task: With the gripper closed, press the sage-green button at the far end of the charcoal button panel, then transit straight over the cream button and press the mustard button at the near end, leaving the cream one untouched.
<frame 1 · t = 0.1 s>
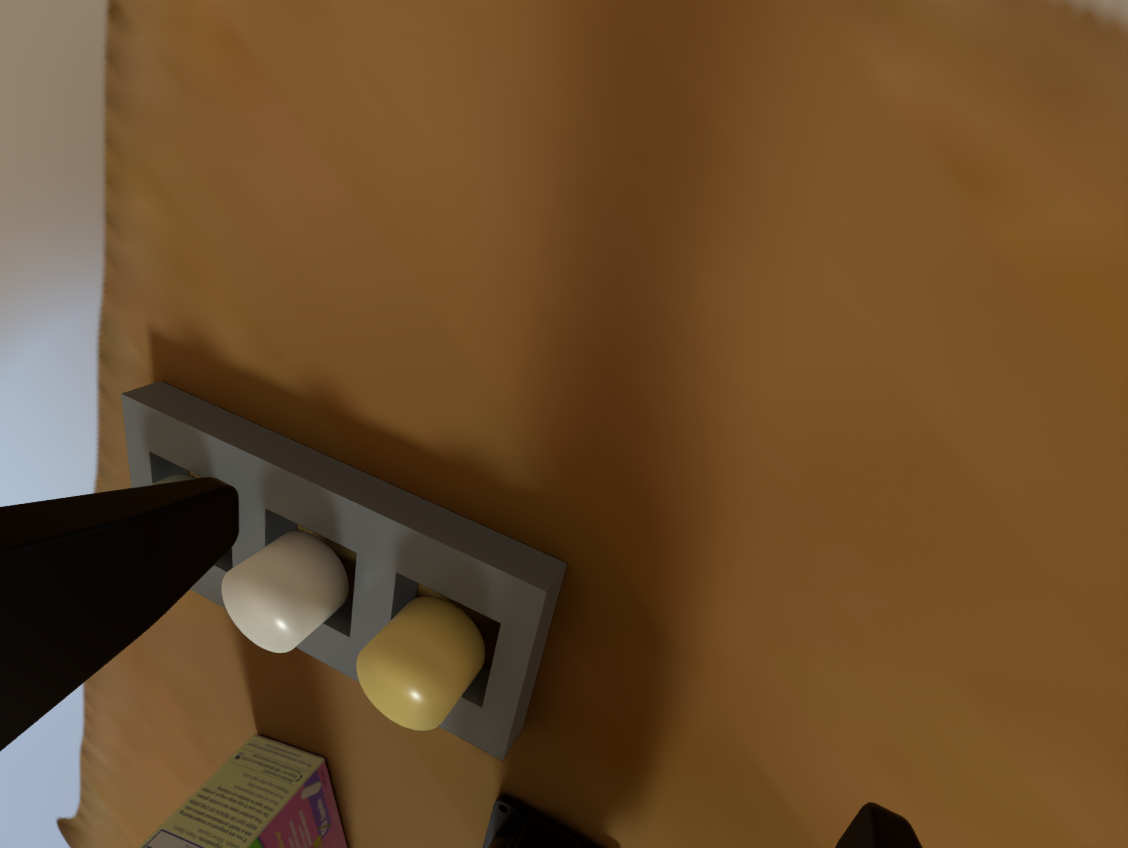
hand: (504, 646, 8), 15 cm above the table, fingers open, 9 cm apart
box: (311, 802, 41), on the table
mustard button: (422, 661, 27), point 3 cm above the table, slide at 0.0 cm
sage button: (167, 527, 30), point 3 cm above the table, slide at 0.0 cm
button panel: (338, 551, 31), on the table
cream button: (286, 590, 29), point 3 cm above the table, slide at 0.0 cm
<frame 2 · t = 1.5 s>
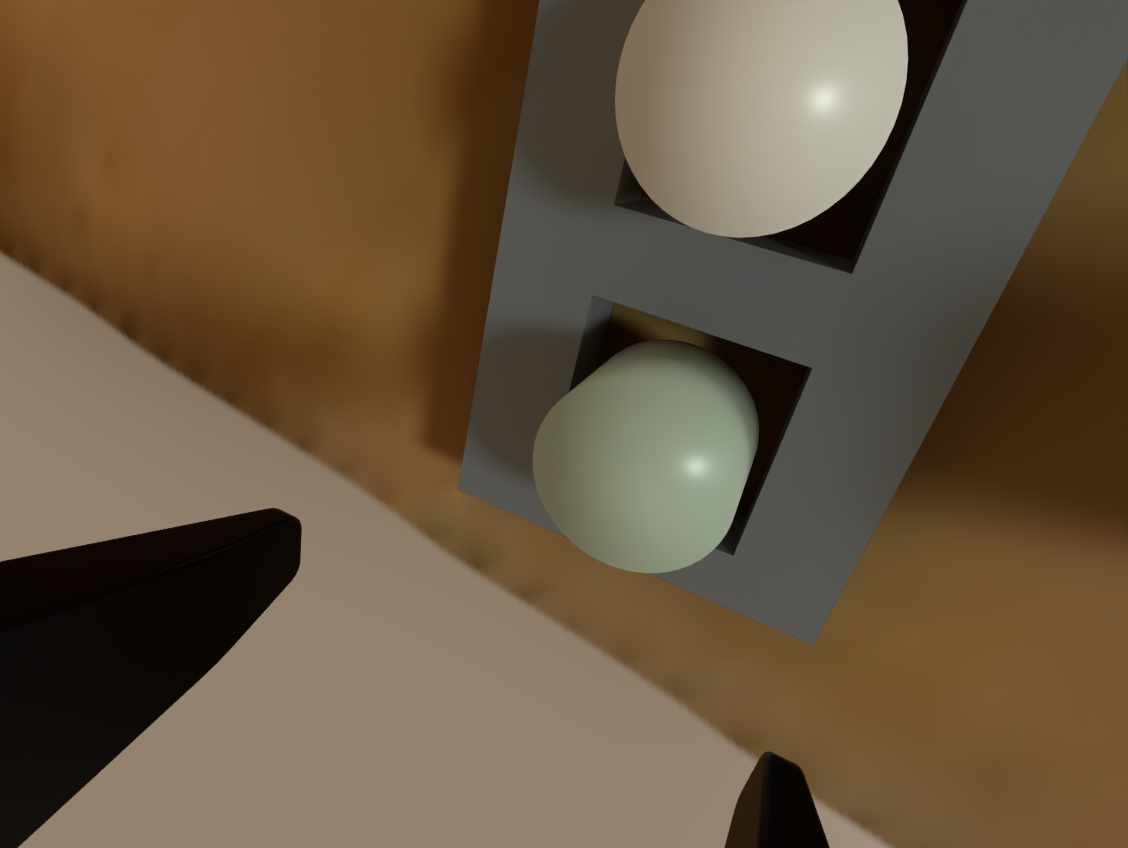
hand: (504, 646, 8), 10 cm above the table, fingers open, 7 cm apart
sage button: (649, 451, 14), point 3 cm above the table, slide at 0.0 cm
button panel: (781, 109, 14), on the table
cream button: (761, 98, 11), point 3 cm above the table, slide at 0.0 cm
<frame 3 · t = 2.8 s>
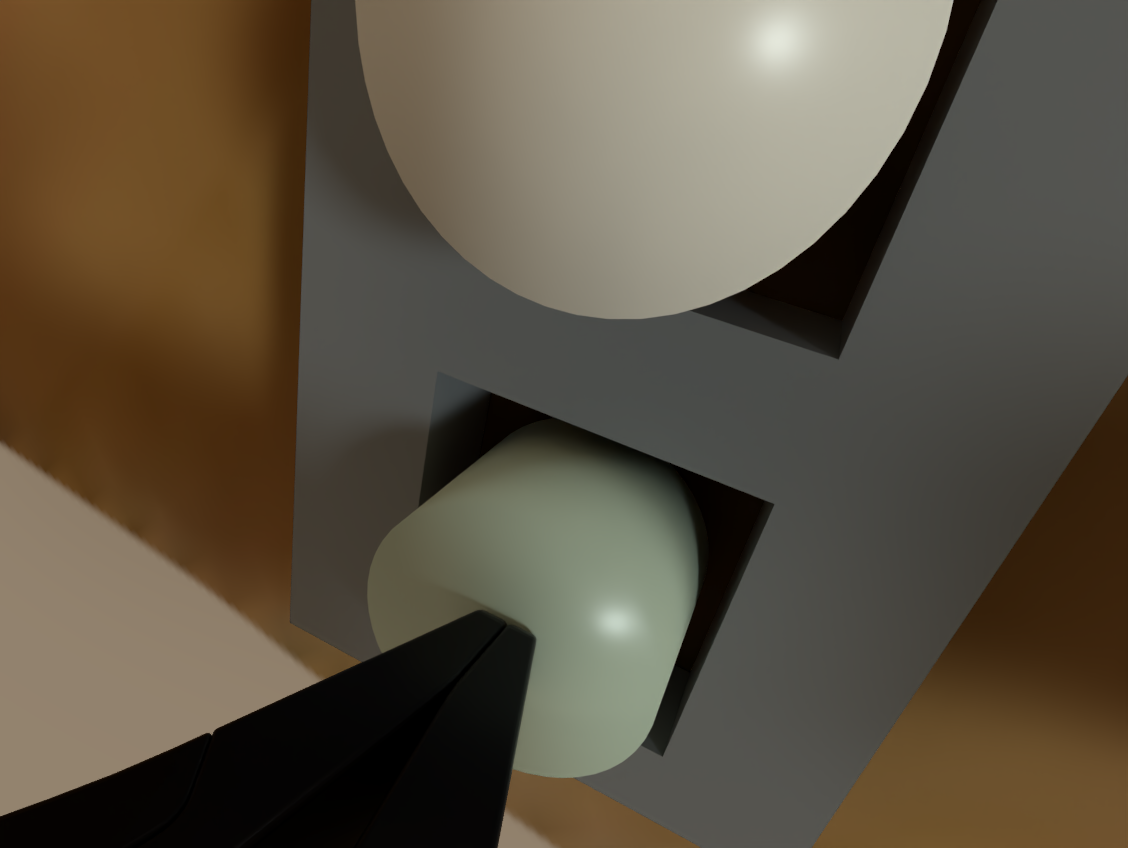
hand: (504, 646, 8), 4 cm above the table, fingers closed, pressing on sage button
sage button: (547, 584, 10), point 2 cm above the table, slide at 1.0 cm, touching gripper
button panel: (727, 81, 9), on the table
cream button: (663, 45, 6), point 3 cm above the table, slide at 0.0 cm
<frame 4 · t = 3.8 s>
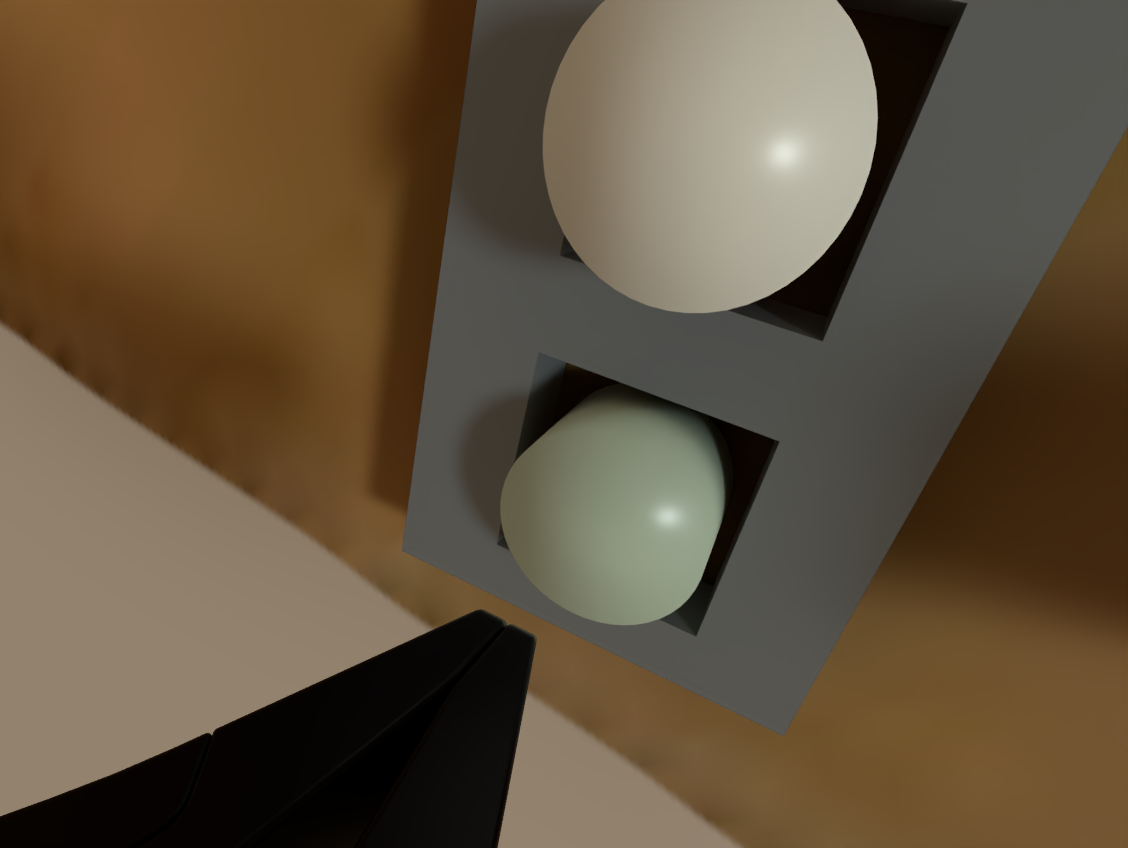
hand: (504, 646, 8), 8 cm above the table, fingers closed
sage button: (621, 498, 14), point 2 cm above the table, slide at 1.4 cm
button panel: (747, 150, 12), on the table
cream button: (715, 149, 10), point 3 cm above the table, slide at 0.0 cm
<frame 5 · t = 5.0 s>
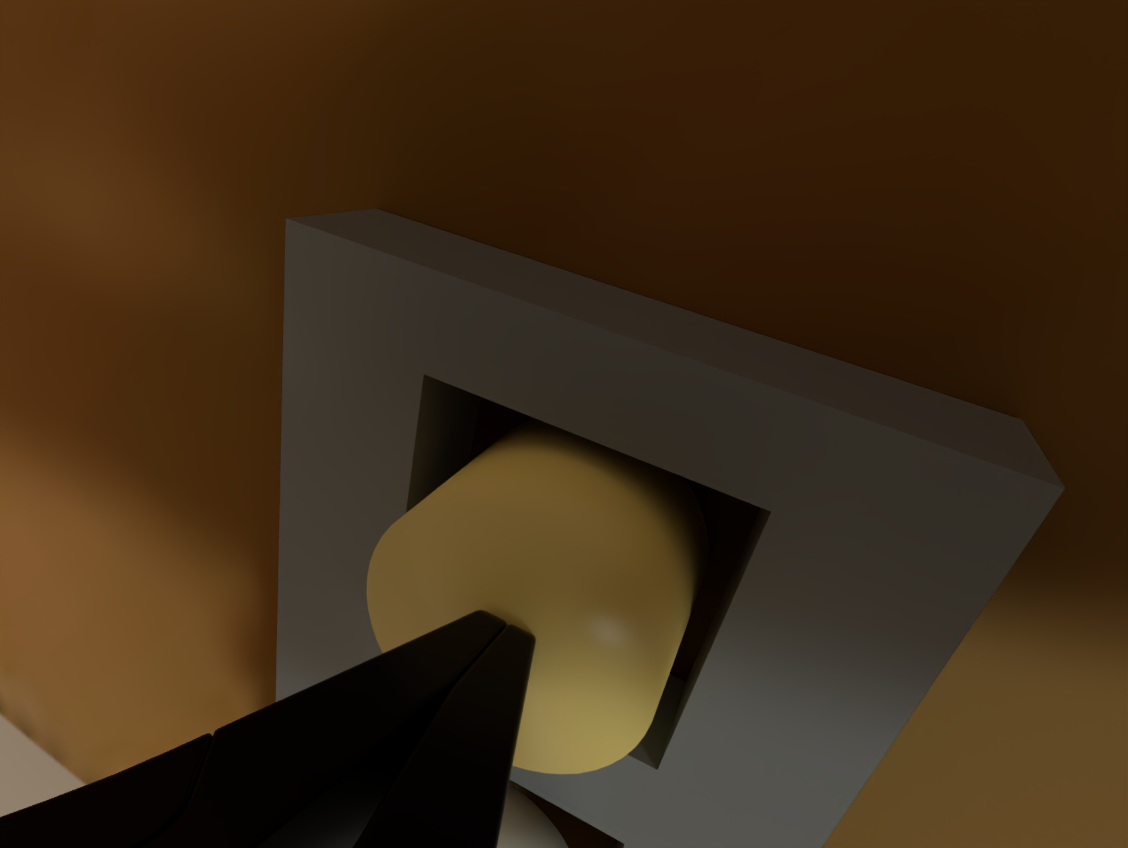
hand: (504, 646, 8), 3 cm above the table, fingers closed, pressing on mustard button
mustard button: (547, 580, 10), point 2 cm above the table, slide at 1.3 cm, touching gripper
button panel: (519, 770, 15), on the table
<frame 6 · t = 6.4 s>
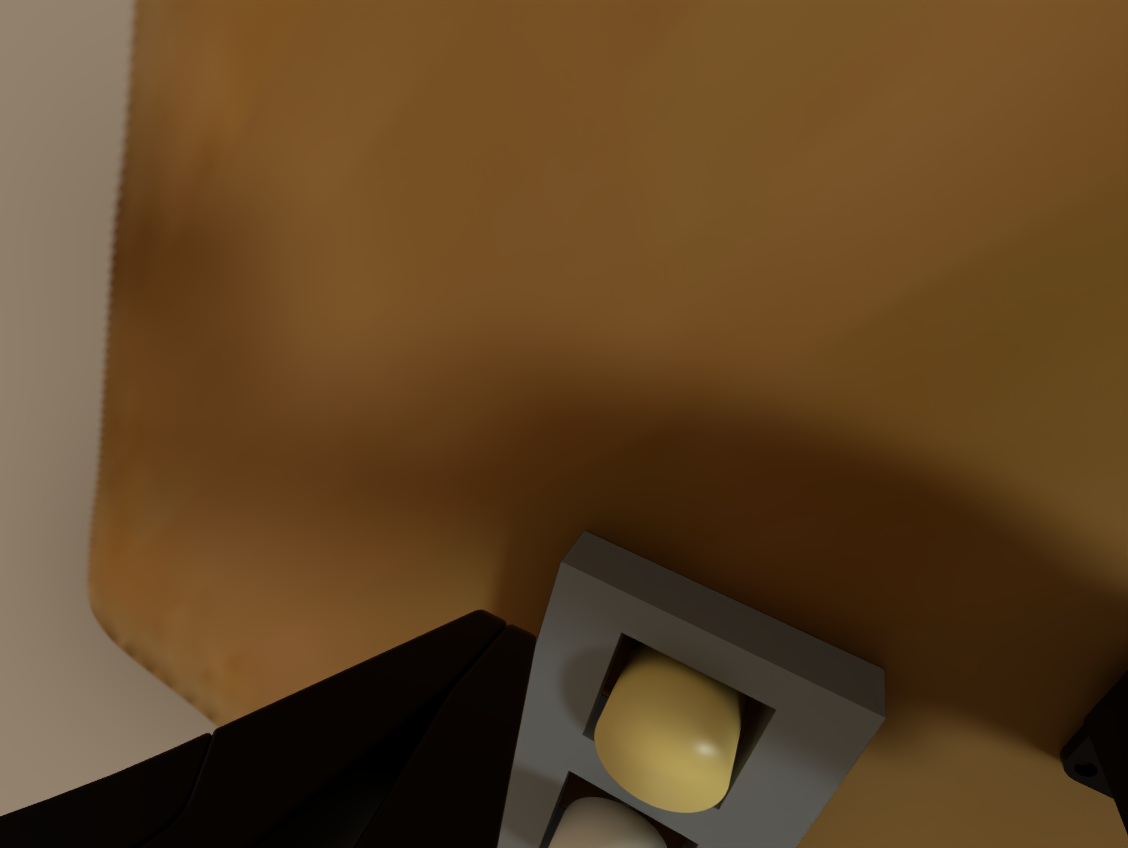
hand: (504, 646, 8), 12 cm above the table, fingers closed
mustard button: (671, 721, 21), point 2 cm above the table, slide at 1.4 cm
button panel: (629, 801, 26), on the table
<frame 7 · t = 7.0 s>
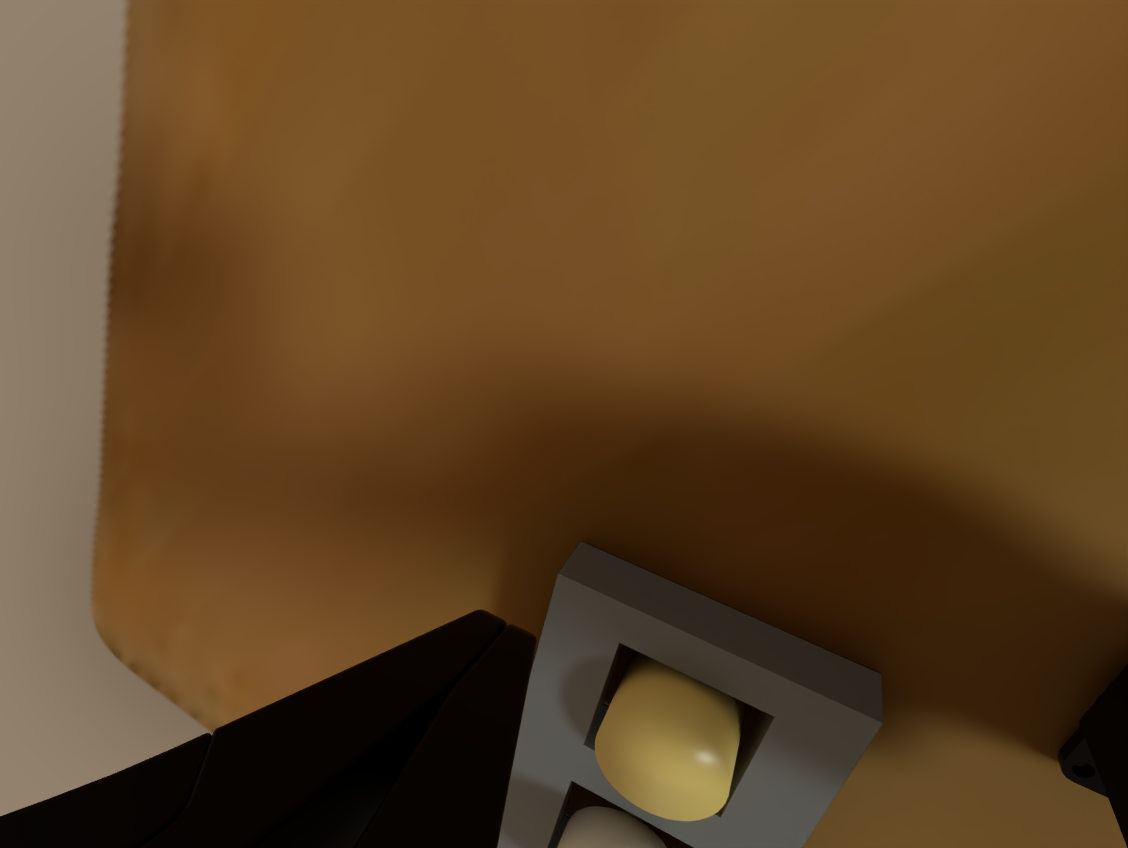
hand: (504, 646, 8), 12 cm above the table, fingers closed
mustard button: (671, 730, 21), point 2 cm above the table, slide at 1.4 cm
button panel: (632, 809, 26), on the table
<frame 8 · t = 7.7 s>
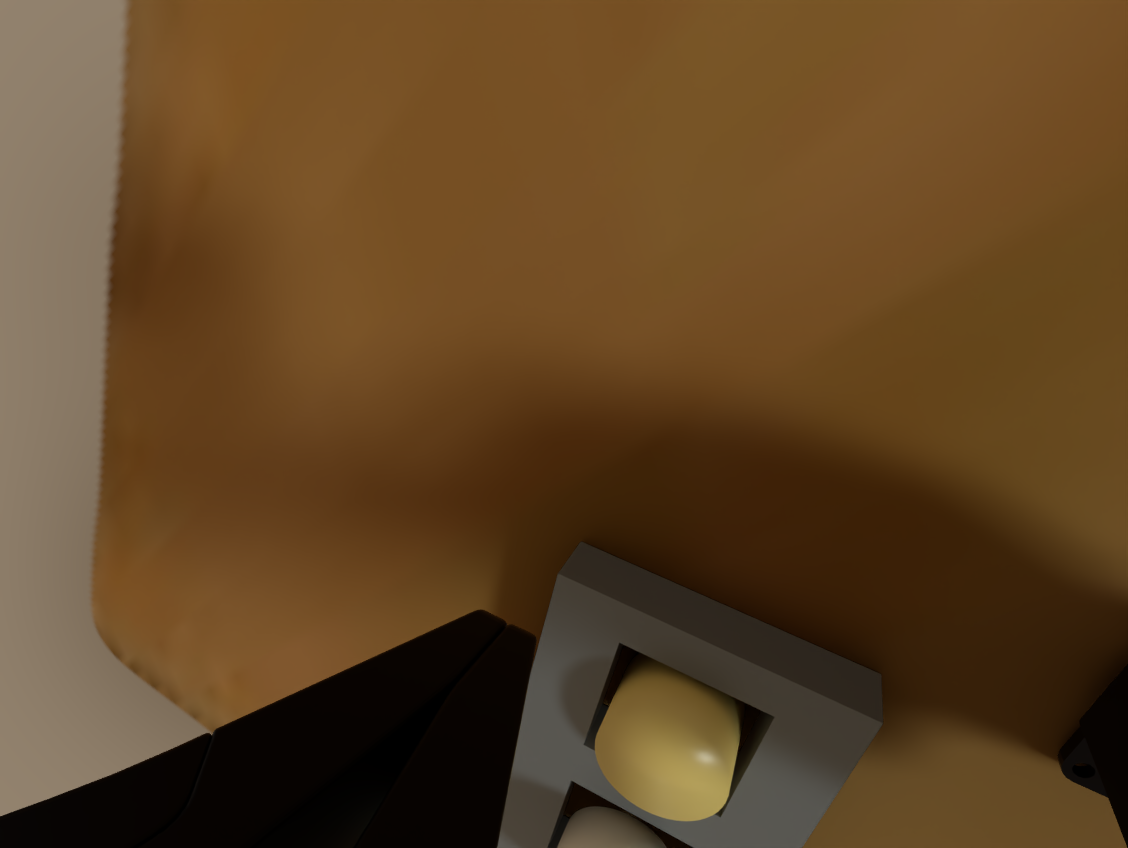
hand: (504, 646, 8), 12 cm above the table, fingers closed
mustard button: (671, 730, 21), point 2 cm above the table, slide at 1.4 cm
button panel: (632, 809, 26), on the table
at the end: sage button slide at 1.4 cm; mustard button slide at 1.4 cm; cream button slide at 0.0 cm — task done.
